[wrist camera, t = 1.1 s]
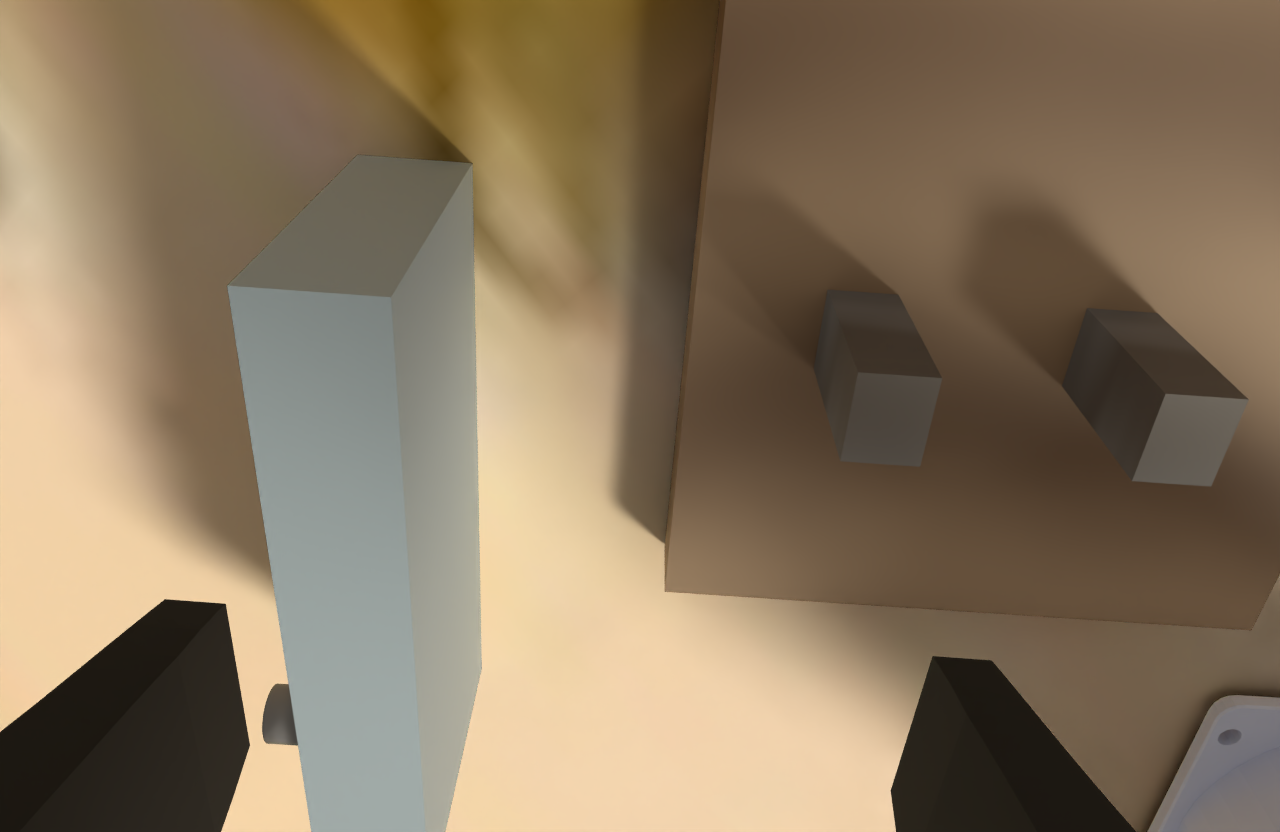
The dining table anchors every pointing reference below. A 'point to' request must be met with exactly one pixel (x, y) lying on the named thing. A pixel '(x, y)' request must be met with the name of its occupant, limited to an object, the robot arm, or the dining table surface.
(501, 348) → the dining table surface
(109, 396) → the dining table surface
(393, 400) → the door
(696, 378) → the plinth
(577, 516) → the dining table surface
